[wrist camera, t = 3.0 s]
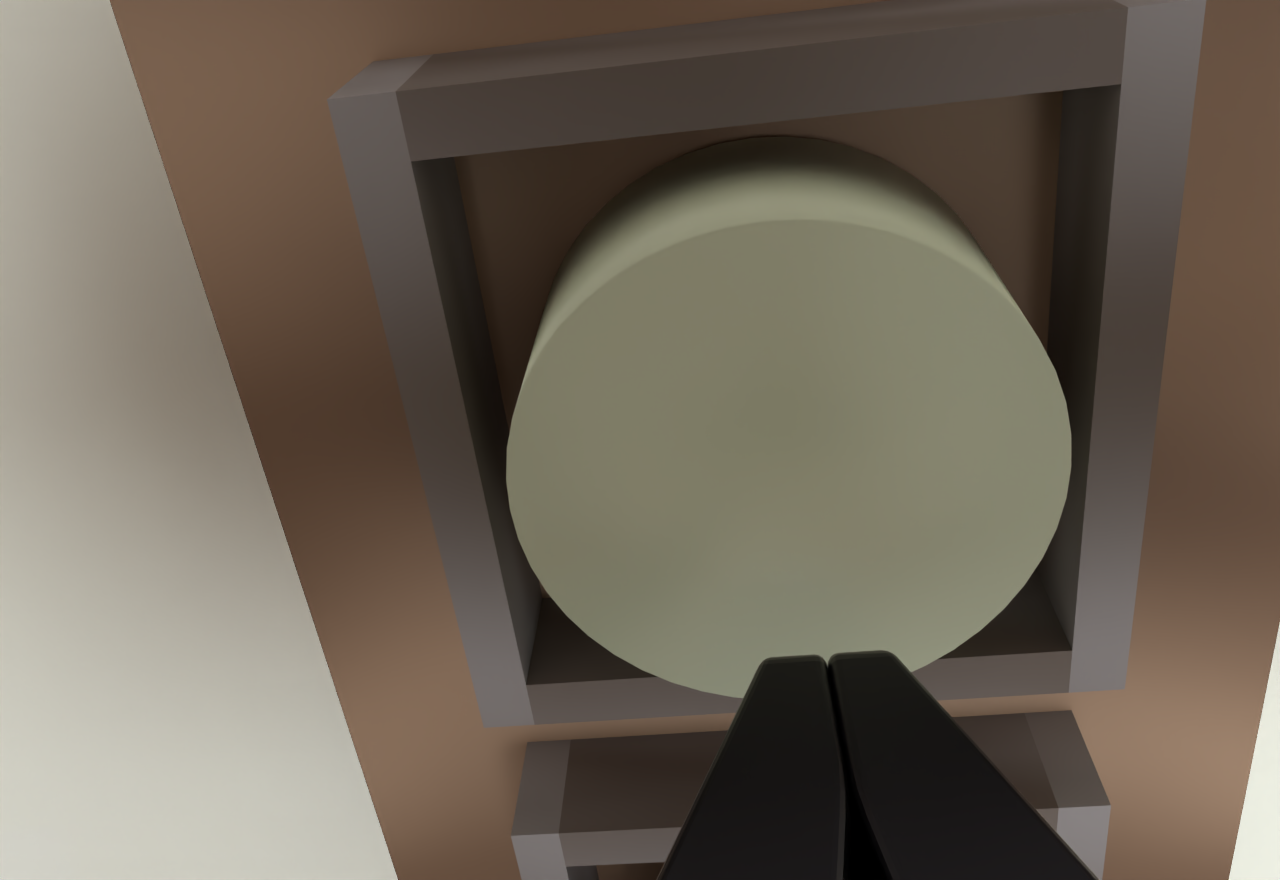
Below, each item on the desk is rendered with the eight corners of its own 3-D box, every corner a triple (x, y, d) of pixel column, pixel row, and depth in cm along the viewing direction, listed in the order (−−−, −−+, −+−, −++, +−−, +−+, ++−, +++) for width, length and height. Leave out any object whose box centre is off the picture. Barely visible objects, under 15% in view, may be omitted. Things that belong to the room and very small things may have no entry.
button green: (995, 538, 13) (1053, 684, 11) (574, 570, 14) (552, 714, 12) (1013, 109, 11) (1093, 187, 9) (502, 164, 11) (456, 252, 9)
